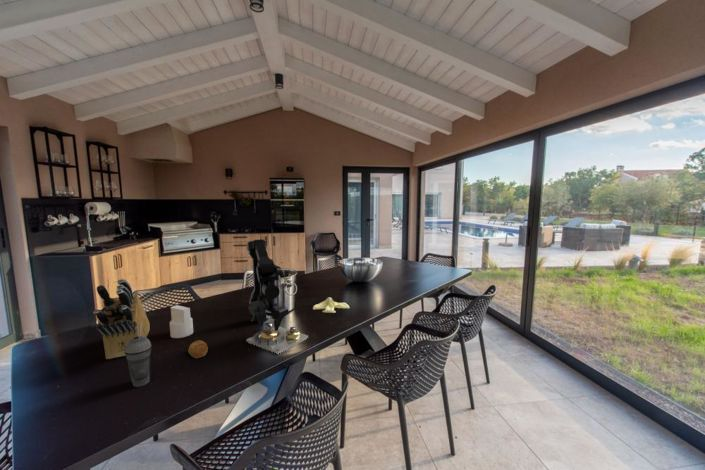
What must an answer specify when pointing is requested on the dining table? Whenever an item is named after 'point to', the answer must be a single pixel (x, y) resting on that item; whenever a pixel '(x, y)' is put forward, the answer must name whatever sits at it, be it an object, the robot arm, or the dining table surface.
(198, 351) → the pastry
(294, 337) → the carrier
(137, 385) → the beverage cup
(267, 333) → the gear
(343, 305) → the bird figurine
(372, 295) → the dining table surface
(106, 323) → the knife block
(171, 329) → the cylinder with rectangular tab
